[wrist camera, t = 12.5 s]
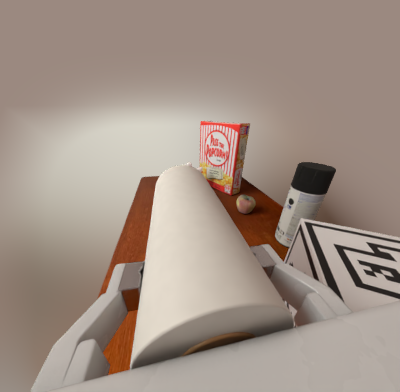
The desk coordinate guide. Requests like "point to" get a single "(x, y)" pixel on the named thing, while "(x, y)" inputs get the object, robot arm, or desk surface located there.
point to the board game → (223, 154)
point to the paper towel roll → (199, 277)
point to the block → (348, 263)
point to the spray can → (303, 198)
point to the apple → (245, 204)
